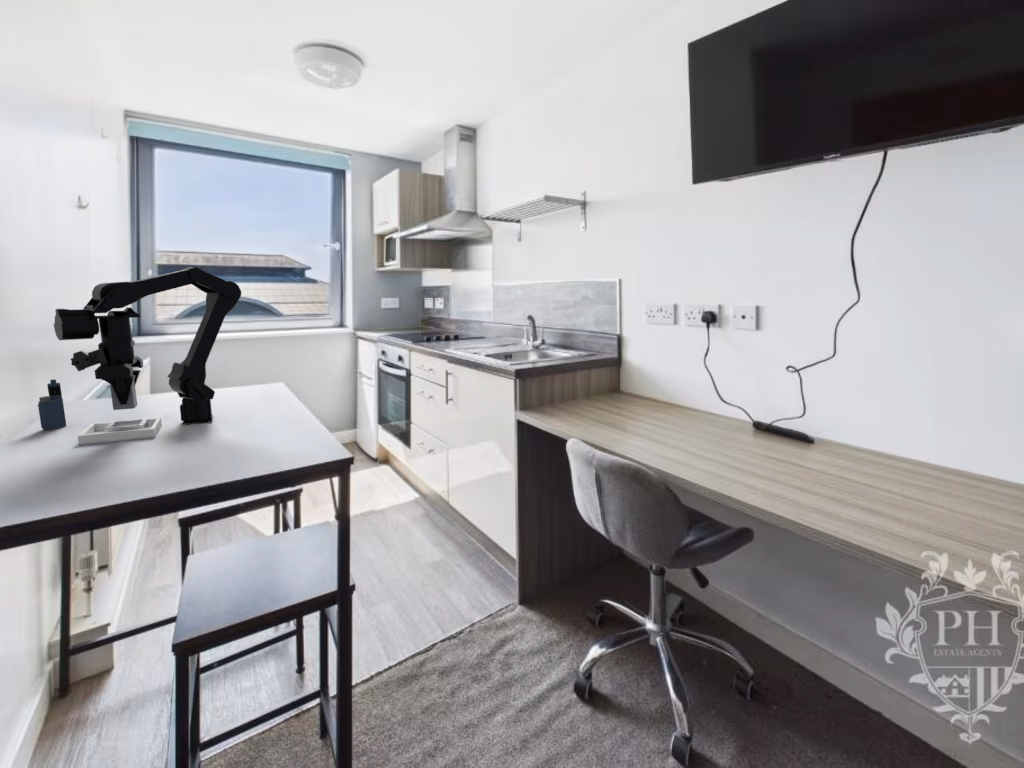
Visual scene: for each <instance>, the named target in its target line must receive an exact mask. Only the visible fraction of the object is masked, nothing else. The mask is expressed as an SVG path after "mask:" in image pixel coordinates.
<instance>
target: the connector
mask: <svg viewBox="0 0 1024 768" xmlns="http://www.w3.org/2000/svg"><path fill="white" fill-rule="evenodd" d="M109 387H110V397H111V402H112V404H111V405H112V410H113V411H117V410H119V411H120V410H131V409H135V408H137V407H138V400H137V391H136V385H135V382H134V381H133V385H132V388H131V391H130V394H129V398H128V401H127V404H124V405H121V404H120V402H119V400H118V398H117V396H116V394H115V392H114V389H113V388H112V386H111V384H109Z"/></svg>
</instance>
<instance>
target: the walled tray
mask: <svg viewBox="0 0 1024 768" xmlns="http://www.w3.org/2000/svg"><path fill="white" fill-rule="evenodd" d="M147 419H148V422H149V429H138V430H127V431H117V432H106V433H105V427H106V426H107V425H108V424H109V423H110V422H111V421H107V422H105V421H104V422H94V423H90V424H89V425H88V426H87V427H86V428H85V429H84V430H82V431H81V432H80V433H79V434H78V435H77V438H78V439H77V440H78V441H77V442H78V445H86V444H87V445H89V444H96V443H97V444H98V443H107V442H116V441H117V442H119V441H128V440H138V439H146V438H147V439H149V438H155V437H156V436H157V434H158V433H159V431H160V429H161V428H162V426H163V424H162V423H163V422H162V417H153V418H152V417H151V418H147Z"/></svg>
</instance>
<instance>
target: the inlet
mask: <svg viewBox="0 0 1024 768" xmlns="http://www.w3.org/2000/svg"><path fill="white" fill-rule="evenodd" d="M148 419H149V418H135V419H125V420H115V421H109V422H110V423H109V424H108V425H107V426H106V427H105V433H106V432H117V431H127V430H138V429H149V422H148Z"/></svg>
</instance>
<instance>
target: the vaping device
mask: <svg viewBox="0 0 1024 768" xmlns="http://www.w3.org/2000/svg"><path fill="white" fill-rule="evenodd" d="M46 384H47V391H48V395H46V396H40V397H39V398H38V399H39V400H38V403H37V407H38V413H39V414H38V415H39V420H40V427H41V429H42V431H52V429H53V430H57V429H60V427H61V428H65V427H67V422H66V414H65V413H66V412H65V405H64V398H63V394H62V387H61V383H60V382H57V379H50V380H49V382H48V383H46Z"/></svg>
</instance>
